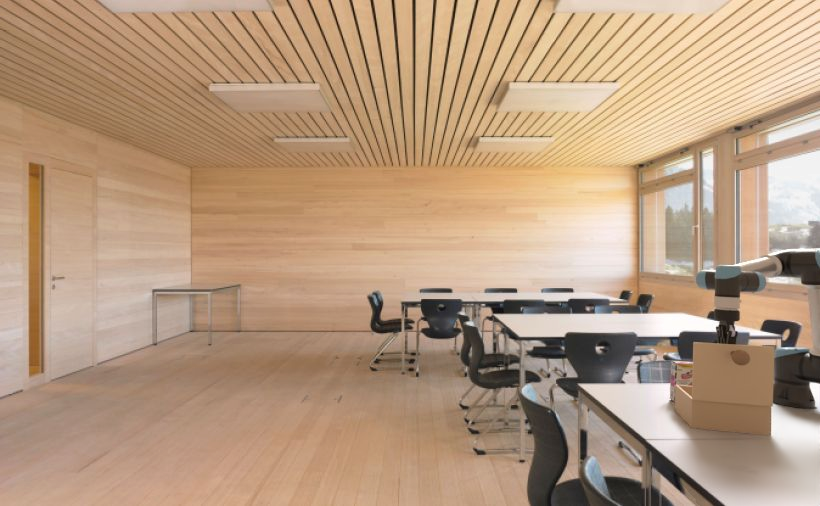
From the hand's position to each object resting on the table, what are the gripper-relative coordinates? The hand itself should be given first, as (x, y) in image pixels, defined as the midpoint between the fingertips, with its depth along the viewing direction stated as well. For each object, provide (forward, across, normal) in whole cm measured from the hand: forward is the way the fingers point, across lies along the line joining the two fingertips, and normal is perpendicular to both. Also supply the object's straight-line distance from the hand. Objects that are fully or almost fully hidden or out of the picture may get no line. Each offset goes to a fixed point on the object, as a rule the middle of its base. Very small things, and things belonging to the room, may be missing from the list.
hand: (725, 376), depth 167 cm
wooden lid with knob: (-2, -5, 0) cm, 5 cm away
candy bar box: (+18, +30, +4) cm, 35 cm away
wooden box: (+18, +6, 0) cm, 19 cm away
